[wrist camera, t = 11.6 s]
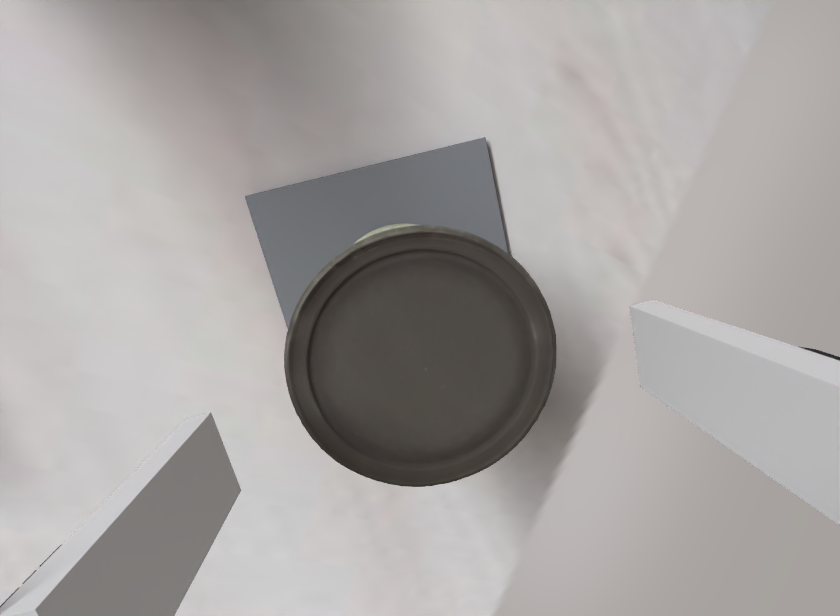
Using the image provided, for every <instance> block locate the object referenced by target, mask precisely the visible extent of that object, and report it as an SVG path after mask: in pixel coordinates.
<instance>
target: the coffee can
mask: <svg viewBox="0 0 840 616" xmlns="http://www.w3.org/2000/svg"><path fill="white" fill-rule="evenodd" d="M284 368H285V375H286V382H287V387H288V391H289V394H290V398H291V401H292V403H293V406H294V408H295V411H296V413H297V415H298V416H299V418H300V420H301V422H302V424H303V426H304V427H305V429H306V430H307V432H308V433H309V434H310V436H311V437H312V439H313V440H314V441H315V442H316V443H317V444H318V445H319V446H320V447H321V449H322V450H324V451H325V452H326V453H327V454H328V455H329V456H331V457H332V458H333V459H334V460H335V461H337V462H338V463H340V464H341V465H343V466H345V467H346V468H348V469H350V470H352V471H354V472H356V473H358V474H360V475H363V476H365V477H368V478H370V479H373V480H376V481H380V482H384V483H388V484H393V485H399V486H411V487H424V486H433V485H438V484H445V483H449V482H453V481H457V480H459V479H462V478H465V477H468V476H470V475H473V474H475V473H478V472H480V471H482V470H484V469H486V468H488V467H489V466H491V465H493V464H494V463H496V462H497V461H499V460H500V459H501V458H503V457H504V456H505V455H507V454H508V453H509V452H510V451H511V450H512V449H513V448H514V447H516V446H517V445H518V443H519V442H520V441H521V440H522V439H523V438H524V437H525V435H526V434H527V433H528V432H529V430H530V429H531V427H532V426H533V425H534V423H535V422H536V420H537V419H538V417H539V415H540V413H541V411H542V409H543V408H544V406H545V404H546V401H547V398H548V396H549V393H550V390H551V386H552V383H553V379H554V374H555V368H556V335H555V330H554V325H553V321H552V317H551V314H550V311H549V309H548V306H547V303H546V301H545V299H544V297H543V295H542V293H541V292H540V290H539V288H538V286H537V285H536V283H535V282H534V280H533V279H532V278H531V276H530V275H529V274H528V272H527V271H526V270H525V269H524V268H523V267H522V266H521V265H520V264H519V263H518V262H517V261H516V260H515V259H514V258H513V257H511V256H510V255H509V254H508V253H506V252H505V251H504V250H502V249H501V248H499V247H498V246H496V245H494V244H493V243H491V242H489V241H487V240H485V239H483V238H481V237H479V236H476V235H474V234H472V233H469V232H466V231H462V230H458V229H453V228H449V227H443V226H429V225H416V224H393V225H387V226H384V227H380V228H378V229H376V230H373V231H371V232H369V233H368V234H366V235H364V236H363V237H362V238H360V239H358V240H357V241H356V242H355V243H354V244H353V245H351V246H350V247H348V248H346V249H345V250H343V251H342V252H341V253H339V254H338V255H337V256H335V257H334V258H333V259H332V260H331V261H330V262H329V263H328V264H326V265H325V266H324V267H323V268H322V269H321V270H320V271H319V272H318V274H317V275H316V276H315V277H314V279H313V280H312V281H311V282H310V284H309V285H308V286H307V288H306V289H305V291H304V292H303V294H302V296H301V297H300V299H299V301H298V303H297V305H296V307H295V310H294V312H293V314H292V317H291V320H290V324H289V328H288V332H287V336H286V343H285V353H284Z"/></svg>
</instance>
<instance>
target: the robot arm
mask: <svg viewBox="0 0 840 616" xmlns="http://www.w3.org/2000/svg"><path fill="white" fill-rule="evenodd" d="M630 313H631V321H632V328H633V335H634V343H635V351H636V358H637V365H638V373H639V381H640V387H641V388H642V389H644V390H645V391H647V392H648V393H649V394H651V395H652V396H654V397H655V398H657V399H658V400H660V401H661V402H662V403H664V404H665V405H667V406H668V407H670V408H671V409H673V410H674V411H675V412H677V413H678V414H680V415H681V416H683V417H684V418H686V419H687V420H688V421H690V422H691V423H693V424H694V425H696V426H697V427H699V428H700V429H701V430H703V431H704V432H706V433H707V434H709V435H710V436H712V437H713V438H715V439H716V440H717V441H719V442H721V443H722V444H723V445H725V446H726V447H728V448H729V449H730V450H732V451H733V452H735V453H736V454H737V455H739V456H741V457H742V458H743V459H745V460H746V461H748V462H749V463H750V464H752V465H753V466H755V467H756V468H758V469H759V470H761V471H762V472H764V473H765V474H766V475H768V476H769V477H771V478H772V479H774V480H775V481H776V482H778V483H780V484H781V485H782V486H784V487H785V488H787V489H788V490H789V491H791V492H792V493H794V494H796V495H797V496H798V497H800V498H801V499H803V500H804V501H806V502H807V503H808V504H810V505H811V506H813V507H814V508H815V509H817V510H818V511H820V512H821V513H823V514H824V515H826V516H827V517H828V518H830V519H831V520H833V521H834V522H836V523H837V524H839V525H840V357H837V356H834V355H831V354H828V353H825V352H822V351H819V350H816V349H809V348H803V347H796V346H793V345H790V344H787V343H784V342H781V341H778V340H775V339H772V338H769V337H766V336H762V335H760V334H757V333H754V332H750V331H747V330H744V329H741V328H738V327H735V326H732V325H729V324H726V323H723V322H720V321H717V320H714V319H711V318H708V317H705V316H702V315H698V314H695V313H692V312H689V311H686V310H683V309H680V308H677V307H674V306H671V305H668V304H665V303H662V302H659V301H656V300H651V301H647V302H643V303H639V304H635V305H631V306H630ZM240 491H241V489H240V486H239V483H238V481H237V478H236V476H235V473H234V470H233V468H232V465H231V463H230V460H229V458H228V455H227V452H226V450H225V447H224V445H223V442H222V439H221V437H220V434H219V432H218V429H217V426H216V424H215V421H214V419H213V416H212V414H211V413H207V414H203V415H199V416H195V417H191V418H187V419H185V420H184V422H183V423H182V424H181V425H180V426H179V427H178V428H177V429H176V430H175V431H174V432H173V433H172V434H171V435H170V436H169V437H168V438H167V439H166V440H165V441H164V442H163V443H162V444H161V445H160V446H159V447H158V448H157V449H156V450H155V451H154V452H153V453H152V454H151V455H150V456H149V457H148V458H147V459H146V460H145V461H144V462H143V463H142V464H141V465H140V466H139V467H138V468H137V469H136V470H135V471H134V472H133V473H132V474H131V475H130V476H129V477H128V478H127V479H126V480H125V481H124V482H123V483H122V484H121V485H120V486H119V487H118V488H117V489H116V490H115V491H114V492H113V494H112V495H111V496H110V497H109V498H108V499H107V500H106V501H105V502H104V503H103V504H102V505H101V506H100V507H99V508H98V509H97V510H96V511H95V512H94V513H93V514H92V515H91V516H90V517H89V518H88V519H87V520H86V521H85V522H84V523H83V524H82V525H81V526H80V527H79V528H78V529H77V530H76V531H75V532H74V533H73V534H72V535H71V536H70V537H69V538H68V539H67V540H66V541H65V542H64V543H63V544H62V545H60V546H59V547H58V548H57V549H56V550H55V551H54V552H53V553H52V554H51V555H50V556H49V557H48V558H47V559H46V560H45V561H44V562H43V563H42V564H41V565H40V568H39V569H38V570H35V571H34V573H33V574H32V575H31V576H30V577H29V578H28V579H27V580H26V581H25V582H24V583H23V585H22V586H21V587H20V588H18V589H17V590H16V591H15V592H14V593H13V594H12V595H11V596H10V597H9V598H8V599H7V600H6V601H5V602H4V603H3V604H2V605H1V606H0V616H174V615H175V613H176V611H177V609H178V607H179V606H180V604H181V602H182V600H183V598H184V596H185V594H186V592H187V591H188V589H189V587H190V585H191V583H192V581H193V579H194V577H195V576H196V574H197V572H198V570H199V568H200V566H201V564H202V562H203V561H204V559H205V557H206V555H207V553H208V551H209V549H210V547H211V546H212V544H213V542H214V540H215V538H216V536H217V534H218V532H219V531H220V529H221V527H222V525H223V523H224V521H225V519H226V517H227V516H228V514H229V512H230V510H231V508H232V506H233V504H234V503H235V501H236V499H237V497H238V495H239V493H240Z"/></svg>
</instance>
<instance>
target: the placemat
mask: <svg viewBox="0 0 840 616" xmlns="http://www.w3.org/2000/svg"><path fill="white" fill-rule="evenodd" d="M245 198H246V202H247V205H248V208H249V211H250V214H251V217H252V220H253V223H254V226H255V229H256V232H257V235H258V239H259V242H260V245H261V248H262V251H263V254H264V257H265V260H266V263H267V266H268V269H269V272H270V276H271V279H272V282H273V285H274V288H275V291H276V294H277V297H278V300H279V303H280V306H281V309H282V313H283V316H284V319H285V322H286V325H287V328H289V324H290V320H291V317H292V314H293V312H294V310H295V307H296V305H297V303H298V301H299V299H300V297H301V296H302V294H303V292H304V291H305V289H306V288H307V286H308V285H309V284H310V282H311V281H312V280H313V279H314V277H315V276H316V275H317V274H318V272H319V271H320V270H321V269H322V268H323V267H324V266H325V265H326V264H328V263H329V262H330V261H331V260H332V259H333V258H334V257H335V256H337V255H338V254H339V253H341V252H342V251H343V250H345V249H346V248H348V247H350V246H351V245H353V244H354V243H355V242H356V241H357V240H358V239H360V238H362V237H363V236H364V235H366V234H368V233H369V232H371V231H373V230H376V229H378V228H380V227H384V226H387V225H393V224H416V225H429V226H443V227H449V228H453V229H458V230H462V231H466V232H469V233H472V234H474V235H476V236H479V237H481V238H483V239H485V240H487V241H489V242H491V243H493V244H494V245H496V246H498V247H499V248H501V249H502V250H504V251H505V252H506V253H508V251H507V246H506V240H505V235H504V230H503V225H502V220H501V215H500V210H499V205H498V199H497V194H496V189H495V184H494V179H493V174H492V169H491V164H490V158H489V153H488V148H487V143H486V138H481V139H477V140H473V141H468V142H464V143H460V144H456V145H452V146H448V147H444V148H440V149H436V150H432V151H428V152H424V153H419V154H415V155H411V156H407V157H403V158H399V159H395V160H391V161H387V162H383V163H379V164H375V165H370V166H366V167H362V168H358V169H354V170H350V171H346V172H342V173H338V174H334V175H330V176H326V177H321V178H317V179H313V180H309V181H305V182H301V183H297V184H293V185H289V186H285V187H281V188H277V189H272V190H268V191H264V192H260V193H256V194H252V195H248V196H245Z"/></svg>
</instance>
